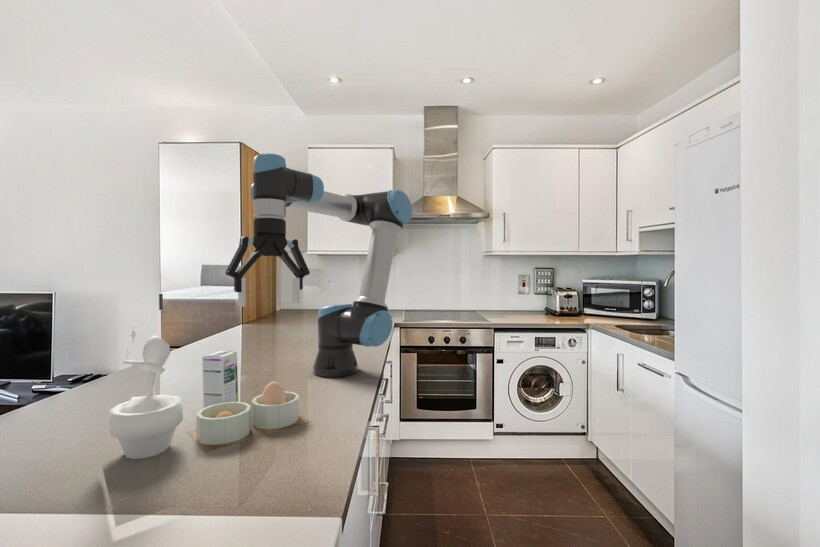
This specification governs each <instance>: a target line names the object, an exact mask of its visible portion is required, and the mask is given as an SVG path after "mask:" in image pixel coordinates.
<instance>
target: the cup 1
mask: <svg viewBox="0 0 820 547" xmlns="http://www.w3.org/2000/svg"><path fill="white" fill-rule="evenodd" d="M224 411H228V412H231V413H232V414H233V415H232V416H228V417H222V418H216V416H217V415H218V414H219V413H221V412H224ZM251 416H252V405H250V404H249V403H247V402H242V401H238V402H224V403H219V404H215V405H210V406H208V407H206V408H204V407H203V408H201V409H200V410H198V412H197V413H196V430H197V440H198V441H199V442H200V443H202V444H207V445H218V444H227V443H230V442H234V441H237V440H240V439H242V438H244V437H245V436H247V435H249V433H250V431H251Z"/></svg>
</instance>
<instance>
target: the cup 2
mask: <svg viewBox="0 0 820 547" xmlns="http://www.w3.org/2000/svg"><path fill="white" fill-rule="evenodd" d="M284 393H285V397H286V403H282V404H275V405H264V404H261V398H262V394H263V393H261V394H259V395H257V396H254V397H253V399H252V400H251V416H252V425H253V426H255V427H256V428H260V429H278V428H283V427H286V426H290V425H292V424H294V423H295V422H297V421H298V419H299V415H300V395H299V394H298V393H296V392H294V391H285V390H284Z"/></svg>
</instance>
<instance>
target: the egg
mask: <svg viewBox="0 0 820 547" xmlns="http://www.w3.org/2000/svg"><path fill="white" fill-rule="evenodd" d="M284 391H285V390H284V388H283V386H282V384H280V383H279V382H278V381H271V382H269V383H268V384H267V385H266V386H265V387H264V389H263V392H262V393H261V394H262V398H261V404H264V405H275V404H282V403H286V397H285V393H284Z"/></svg>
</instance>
